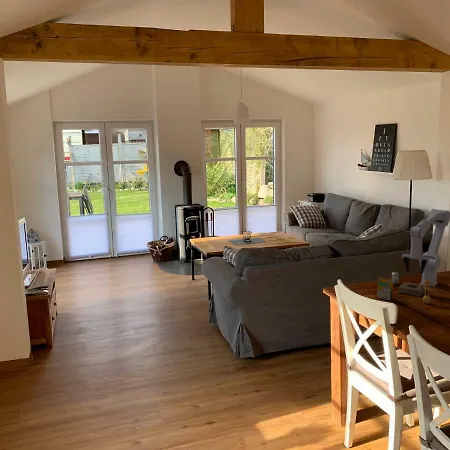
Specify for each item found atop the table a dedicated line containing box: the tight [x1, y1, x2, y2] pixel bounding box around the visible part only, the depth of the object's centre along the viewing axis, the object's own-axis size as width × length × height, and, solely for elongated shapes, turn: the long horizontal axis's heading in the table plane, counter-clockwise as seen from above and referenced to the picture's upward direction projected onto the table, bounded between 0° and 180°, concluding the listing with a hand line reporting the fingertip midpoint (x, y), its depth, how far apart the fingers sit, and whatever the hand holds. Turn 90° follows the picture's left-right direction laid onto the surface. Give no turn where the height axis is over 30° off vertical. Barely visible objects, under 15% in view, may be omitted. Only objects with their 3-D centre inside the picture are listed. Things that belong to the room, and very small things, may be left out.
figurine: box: [418, 280, 437, 304], centre depth 243 cm, size 8×6×12 cm
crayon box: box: [376, 276, 394, 301], centre depth 251 cm, size 7×3×12 cm, turn 48°
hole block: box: [397, 281, 426, 297], centre depth 261 cm, size 12×12×3 cm
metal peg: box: [391, 271, 399, 286], centre depth 274 cm, size 3×3×7 cm
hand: (414, 272), depth 262 cm, fingers open, 7 cm apart
